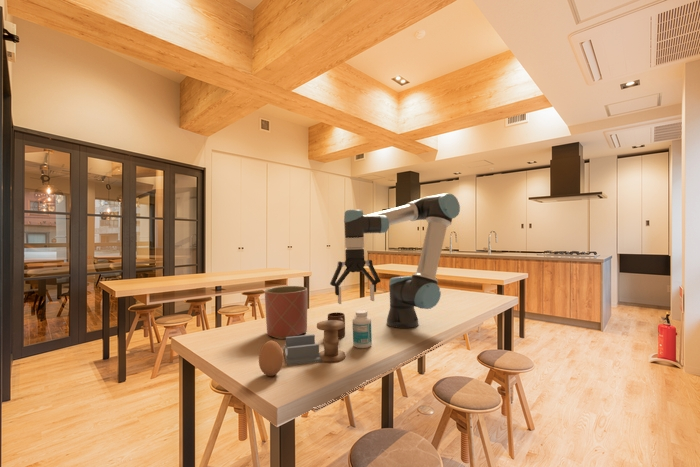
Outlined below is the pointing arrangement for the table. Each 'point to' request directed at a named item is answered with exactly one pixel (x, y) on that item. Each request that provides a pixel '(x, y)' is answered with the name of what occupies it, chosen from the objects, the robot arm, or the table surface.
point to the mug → (340, 318)
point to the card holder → (301, 350)
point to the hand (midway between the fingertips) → (356, 302)
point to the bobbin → (331, 341)
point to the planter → (286, 311)
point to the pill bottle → (362, 330)
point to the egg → (271, 358)
